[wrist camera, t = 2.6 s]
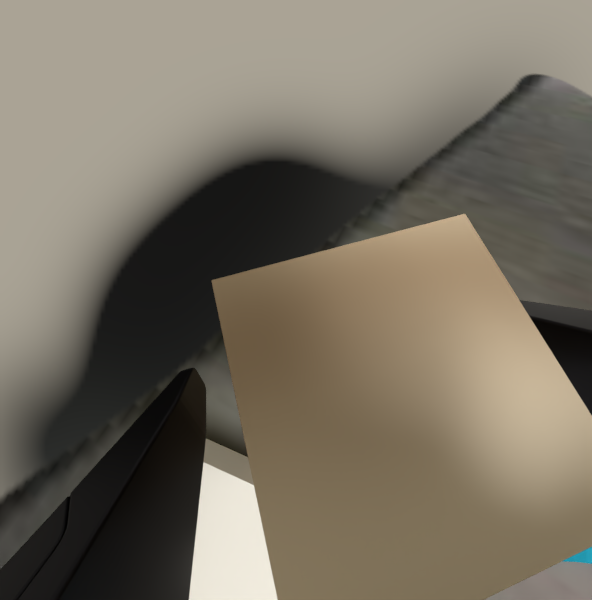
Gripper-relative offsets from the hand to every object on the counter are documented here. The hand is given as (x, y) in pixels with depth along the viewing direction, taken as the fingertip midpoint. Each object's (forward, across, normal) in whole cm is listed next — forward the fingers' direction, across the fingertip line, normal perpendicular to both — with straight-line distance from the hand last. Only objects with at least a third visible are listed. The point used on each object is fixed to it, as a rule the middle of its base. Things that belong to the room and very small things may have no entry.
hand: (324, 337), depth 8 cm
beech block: (+4, 0, +6) cm, 7 cm away
